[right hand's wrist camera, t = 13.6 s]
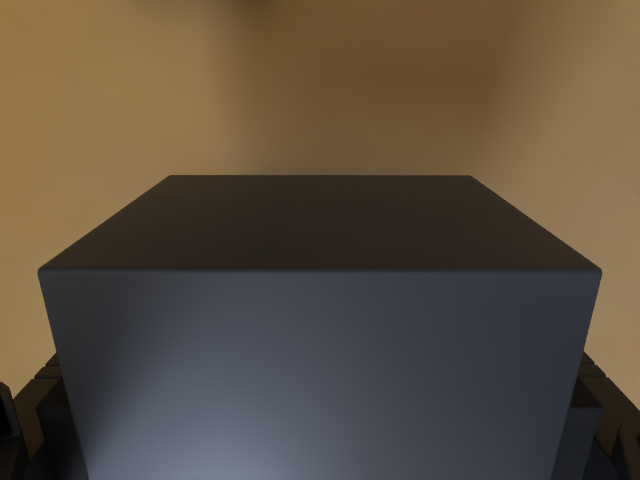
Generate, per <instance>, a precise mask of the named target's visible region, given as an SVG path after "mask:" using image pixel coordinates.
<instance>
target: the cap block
mask: <svg viewBox="0 0 640 480" xmlns="http://www.w3.org/2000/svg"><path fill="white" fill-rule="evenodd" d="M601 276H602V270H601V268H599V267H598V266H596V265H595V264H594V263H592V262H591V261H589V260H588V259H587V258H585V257H584V256H582V255H581V254H580V253H578V252H577V251H575V250H574V249H573V248H571V247H570V246H568V245H567V244H566V243H564V242H563V241H561V240H560V239H559V238H557V237H556V236H554V235H553V234H552V233H550V232H549V231H547V230H546V229H545V228H543V227H542V226H540V225H539V224H538V223H536V222H535V221H533V220H532V219H531V218H529V217H528V216H526V215H525V214H524V213H522V212H521V211H519V210H518V209H517V208H515V207H514V206H512V205H511V204H510V203H508V202H507V201H505V200H504V199H503V198H501V197H500V196H498V195H497V194H496V193H494V192H493V191H491V190H490V189H489V188H487V187H486V186H484V185H483V184H482V183H480V182H479V181H477V180H476V179H475V178H473V177H472V176H470V175H170V176H168V177H166V178H165V179H164V180H162V181H161V182H159V183H158V184H157V185H155V186H154V187H152V188H151V189H150V190H148V191H147V192H145V193H144V194H143V195H141V196H140V197H138V198H137V199H136V200H134V201H133V202H131V203H130V204H128V205H127V206H126V207H124V208H123V209H121V210H120V211H119V212H117V213H116V214H114V215H113V216H112V217H110V218H109V219H107V220H106V221H105V222H103V223H102V224H100V225H99V226H98V227H96V228H95V229H93V230H92V231H91V232H89V233H88V234H86V235H85V236H84V237H82V238H81V239H79V240H78V241H77V242H75V243H74V244H72V245H71V246H70V247H68V248H67V249H65V250H64V251H63V252H61V253H60V254H58V255H57V256H55V257H54V258H53V259H51V260H50V261H48V262H47V263H46V264H44V265H43V266H41V267H40V268H39V269H38V278H39V282H40V286H41V290H42V294H43V298H44V302H45V306H46V310H47V315H48V319H49V323H50V327H51V331H52V335H53V339H54V343H55V347H56V352H57V356H58V360H59V364H60V368H61V372H62V376H63V380H64V384H65V389H66V393H67V397H68V401H69V405H70V409H71V413H72V417H73V421H74V426H75V430H76V434H77V438H78V442H79V446H80V450H81V454H82V458H83V463H84V467H85V471H86V475H87V479H88V480H552V477H553V473H554V469H555V465H556V461H557V456H558V452H559V448H560V444H561V440H562V436H563V432H564V428H565V424H566V420H567V416H568V411H569V407H570V403H571V399H572V395H573V391H574V387H575V383H576V379H577V375H578V370H579V366H580V362H581V358H582V354H583V350H584V346H585V342H586V338H587V334H588V330H589V325H590V321H591V317H592V313H593V309H594V305H595V301H596V297H597V293H598V289H599V284H600V280H601Z"/></svg>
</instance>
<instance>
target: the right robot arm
mask: <svg viewBox="0 0 640 480" xmlns="http://www.w3.org/2000/svg"><path fill="white" fill-rule="evenodd" d="M0 480H88V479H87V475H86V471H85V467H84V463H83V458H82V454H81V450H80V446H79V442H78V438H77V434H76V430H75V426H74V421H73V417H72V413H71V409H70V405H69V401H68V397H67V393H66V389H65V384H64V380H63V376H62V372H61V368H60V364H59V360H58V356H57V352H56V353H55V354H54V356H53V357H52V358H51V359H50V360H49V361H48V362H47V363H46V366H45V367H42V368H41V370H40V371H39V372H38V373H37V374H36V375H35V377H34V379H31V380H30V381H29V382H28V384H27V385H26V386H25V387H24V388H23V389H22V390H21V391H20V392H19V393H18V394H17V395H16V396H15V398H14V399H12V395H11V392H10V389H9V387H8V386H7V385H5V384H4V383H2V382H0ZM552 480H640V411H639V410H638V409H637V407H636V406H635V405H634V404H633V403H632V402H631V401H630V400H629V399H628V398H627V397H626V396H625V395H624V394H623V392H622V391H621V390H620V389H619V388H618V387H617V386H616V385H615V384H614V383H613V382H612V381H611V380H610V379H609V377H606V374H605V373H604V372H603V371H602V370H601V369H600V368H599V367H598V366H597V365H595V364H594V361H593V360H592V359H591V358H590V357H589V356H588V355H587V354H586V353H585V352H584V351H583V354H582V358H581V362H580V366H579V370H578V375H577V379H576V383H575V387H574V391H573V395H572V399H571V403H570V407H569V411H568V416H567V420H566V424H565V428H564V432H563V436H562V440H561V444H560V448H559V452H558V456H557V461H556V465H555V469H554V473H553V477H552Z"/></svg>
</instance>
